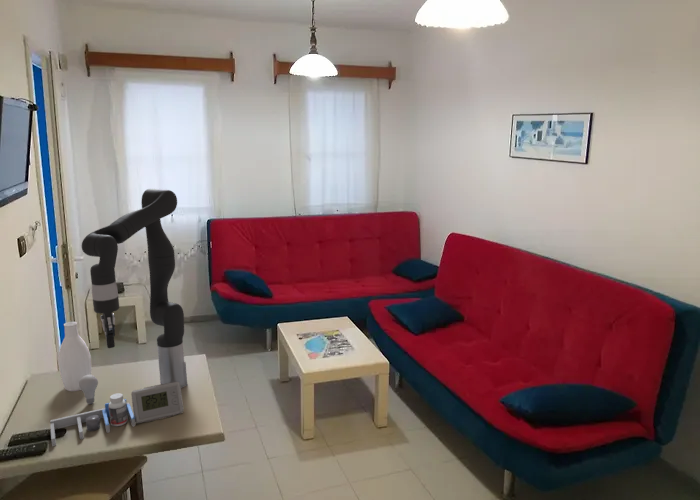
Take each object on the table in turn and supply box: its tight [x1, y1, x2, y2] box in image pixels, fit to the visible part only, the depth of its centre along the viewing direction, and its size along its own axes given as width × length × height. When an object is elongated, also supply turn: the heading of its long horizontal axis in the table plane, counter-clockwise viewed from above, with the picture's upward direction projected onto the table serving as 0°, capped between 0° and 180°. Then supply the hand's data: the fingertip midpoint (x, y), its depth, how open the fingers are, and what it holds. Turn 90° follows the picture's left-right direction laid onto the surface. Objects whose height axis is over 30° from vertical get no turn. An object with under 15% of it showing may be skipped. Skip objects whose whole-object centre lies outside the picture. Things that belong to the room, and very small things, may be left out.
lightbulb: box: [79, 374, 99, 405], centre depth 195 cm, size 6×6×11 cm
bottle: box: [57, 321, 93, 392], centre depth 208 cm, size 11×11×25 cm
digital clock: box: [130, 382, 185, 424], centre depth 187 cm, size 16×9×11 cm, turn 106°
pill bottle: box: [108, 392, 129, 427], centre depth 183 cm, size 5×5×10 cm
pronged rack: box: [49, 398, 136, 447], centre depth 180 cm, size 24×12×5 cm, turn 120°
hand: (111, 347), depth 178 cm, fingers closed
